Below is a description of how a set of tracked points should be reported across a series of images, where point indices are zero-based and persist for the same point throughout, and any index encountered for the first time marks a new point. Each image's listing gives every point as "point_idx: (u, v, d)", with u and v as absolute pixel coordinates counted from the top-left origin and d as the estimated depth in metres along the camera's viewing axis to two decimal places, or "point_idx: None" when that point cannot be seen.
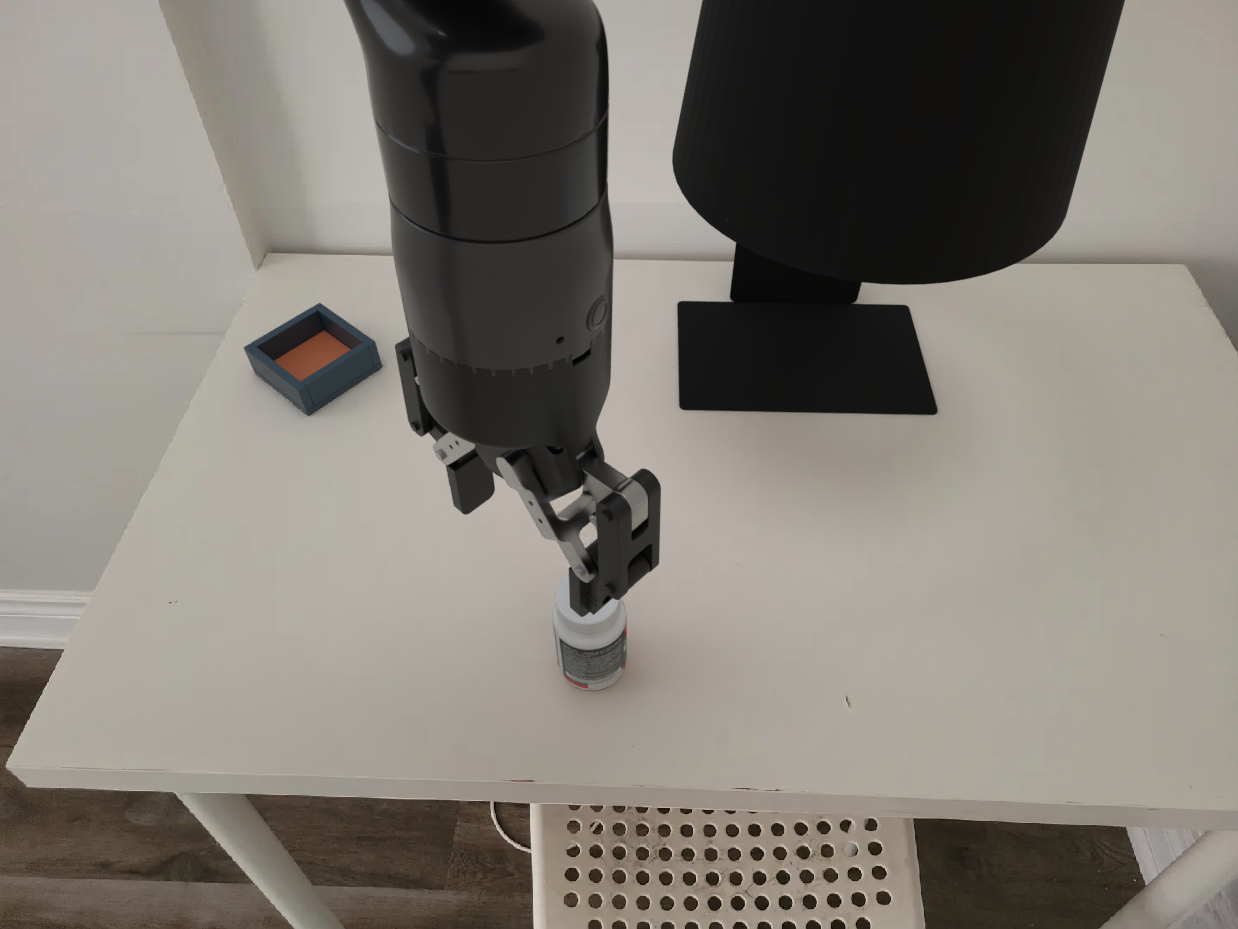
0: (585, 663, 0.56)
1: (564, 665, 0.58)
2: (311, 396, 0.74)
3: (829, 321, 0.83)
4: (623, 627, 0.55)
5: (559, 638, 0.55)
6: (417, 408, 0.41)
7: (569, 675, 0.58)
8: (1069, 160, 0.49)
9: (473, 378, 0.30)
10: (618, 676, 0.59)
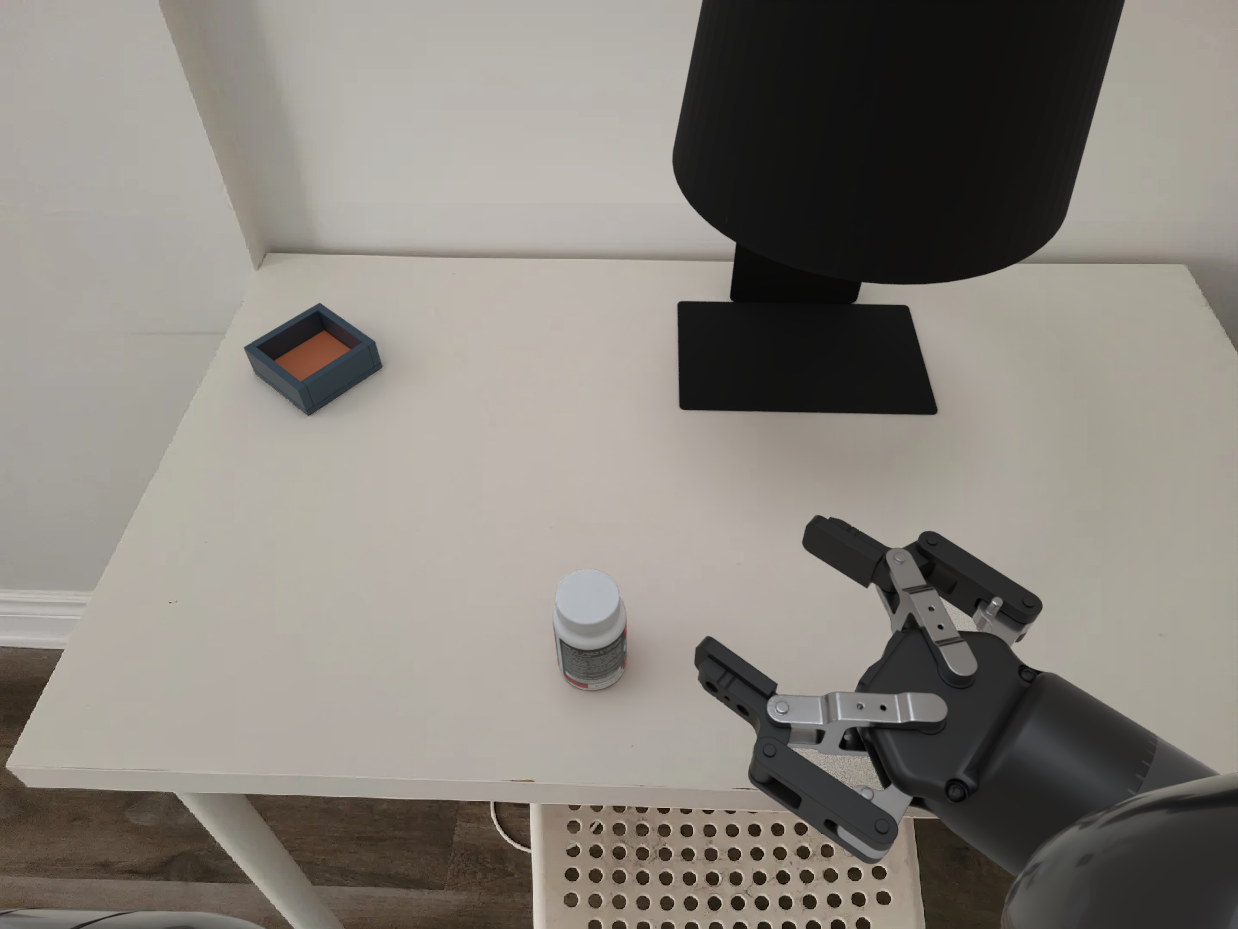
0: (585, 663, 0.56)
1: (564, 665, 0.58)
2: (311, 396, 0.74)
3: (829, 321, 0.83)
4: (623, 627, 0.55)
5: (559, 638, 0.55)
6: (957, 566, 0.39)
7: (569, 675, 0.58)
8: (1069, 160, 0.49)
9: None
10: (618, 676, 0.59)
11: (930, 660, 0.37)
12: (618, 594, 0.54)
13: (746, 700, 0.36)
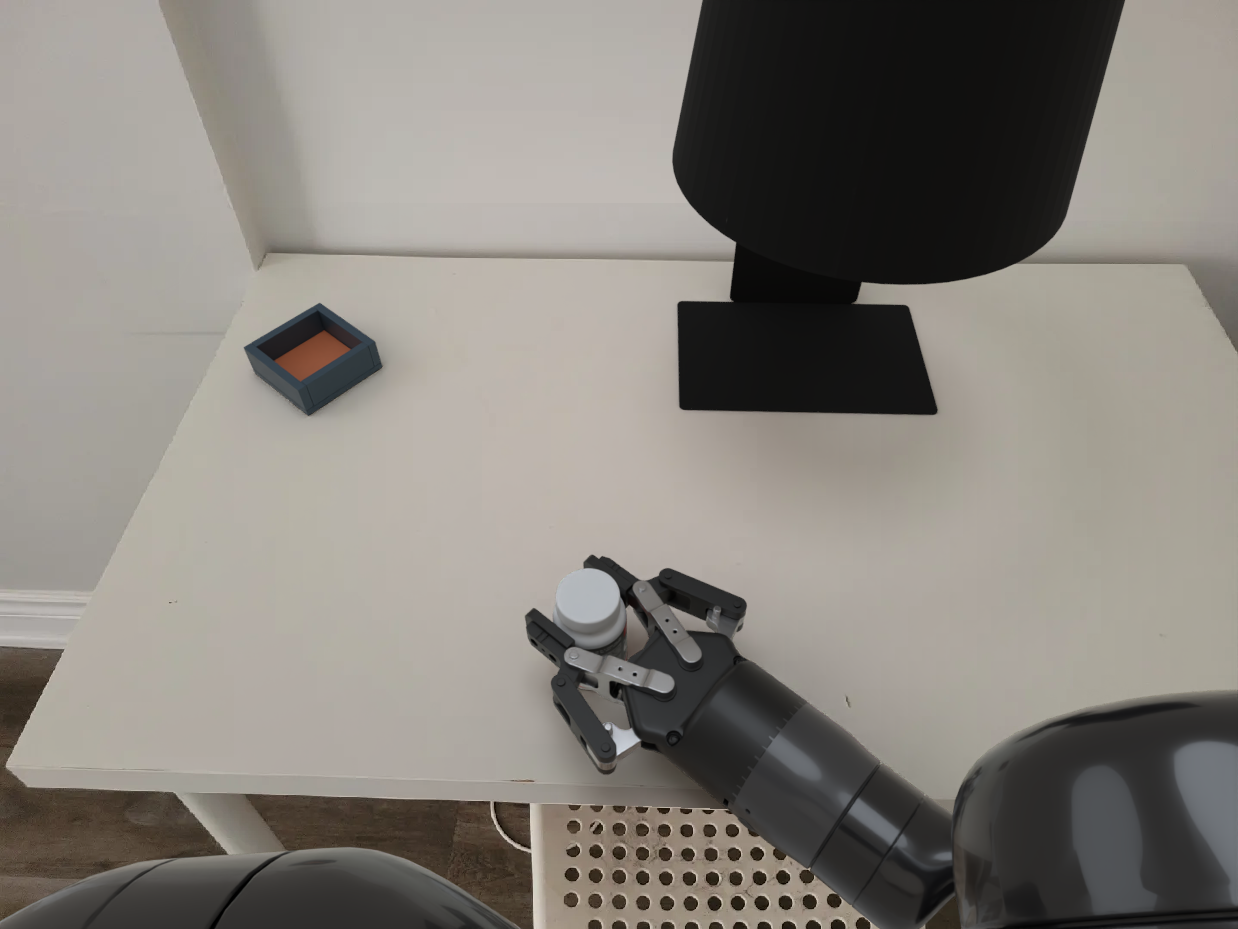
0: None
1: None
2: (311, 396, 0.74)
3: (829, 321, 0.83)
4: (623, 627, 0.55)
5: None
6: (688, 590, 0.56)
7: None
8: (1069, 160, 0.49)
9: (751, 751, 0.47)
10: None
11: (674, 651, 0.53)
12: (618, 593, 0.54)
13: (553, 650, 0.53)
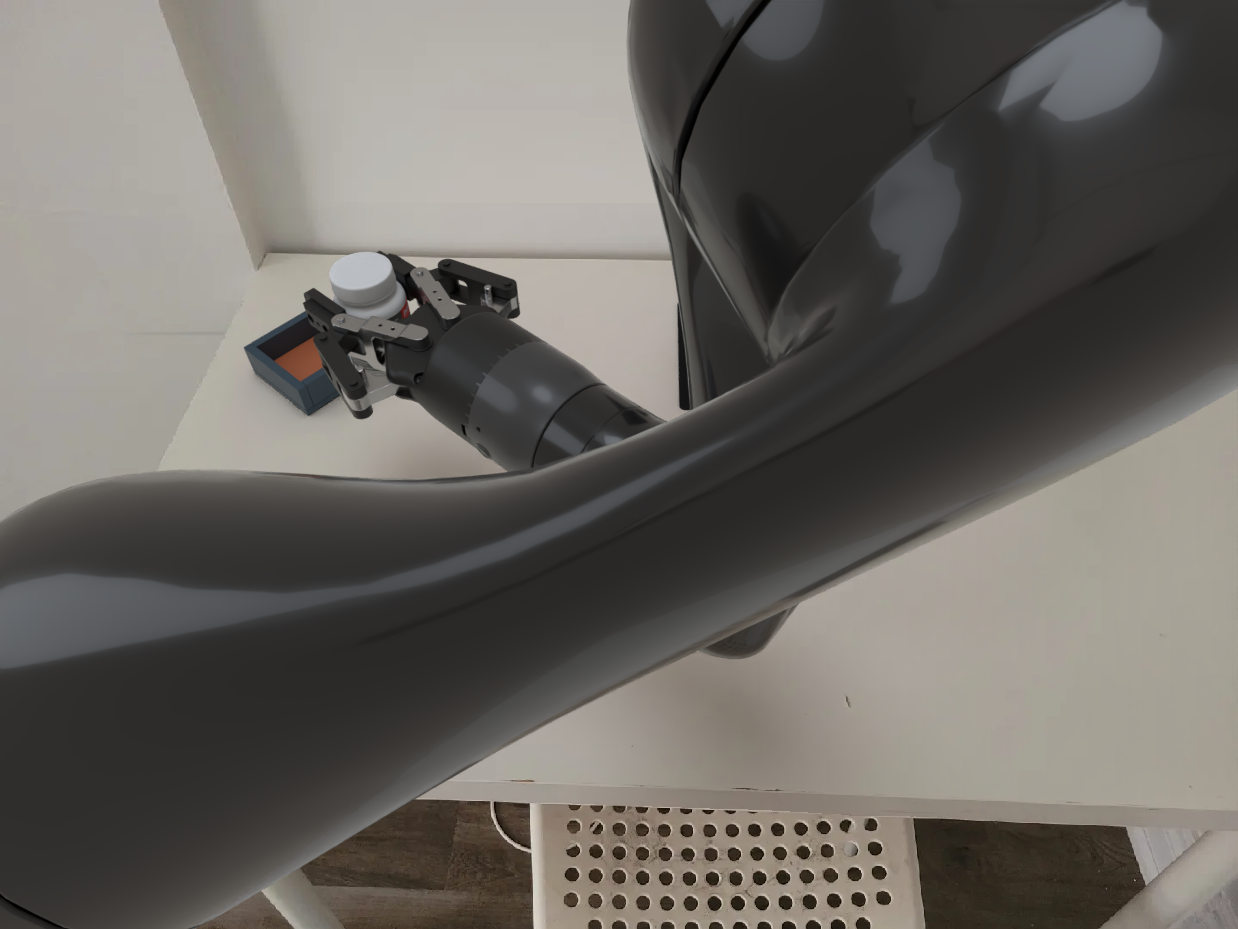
0: None
1: (351, 356, 0.60)
2: (311, 396, 0.74)
3: None
4: (399, 307, 0.57)
5: None
6: (463, 273, 0.58)
7: None
8: None
9: (480, 369, 0.49)
10: None
11: (438, 317, 0.55)
12: (390, 269, 0.56)
13: (324, 319, 0.55)
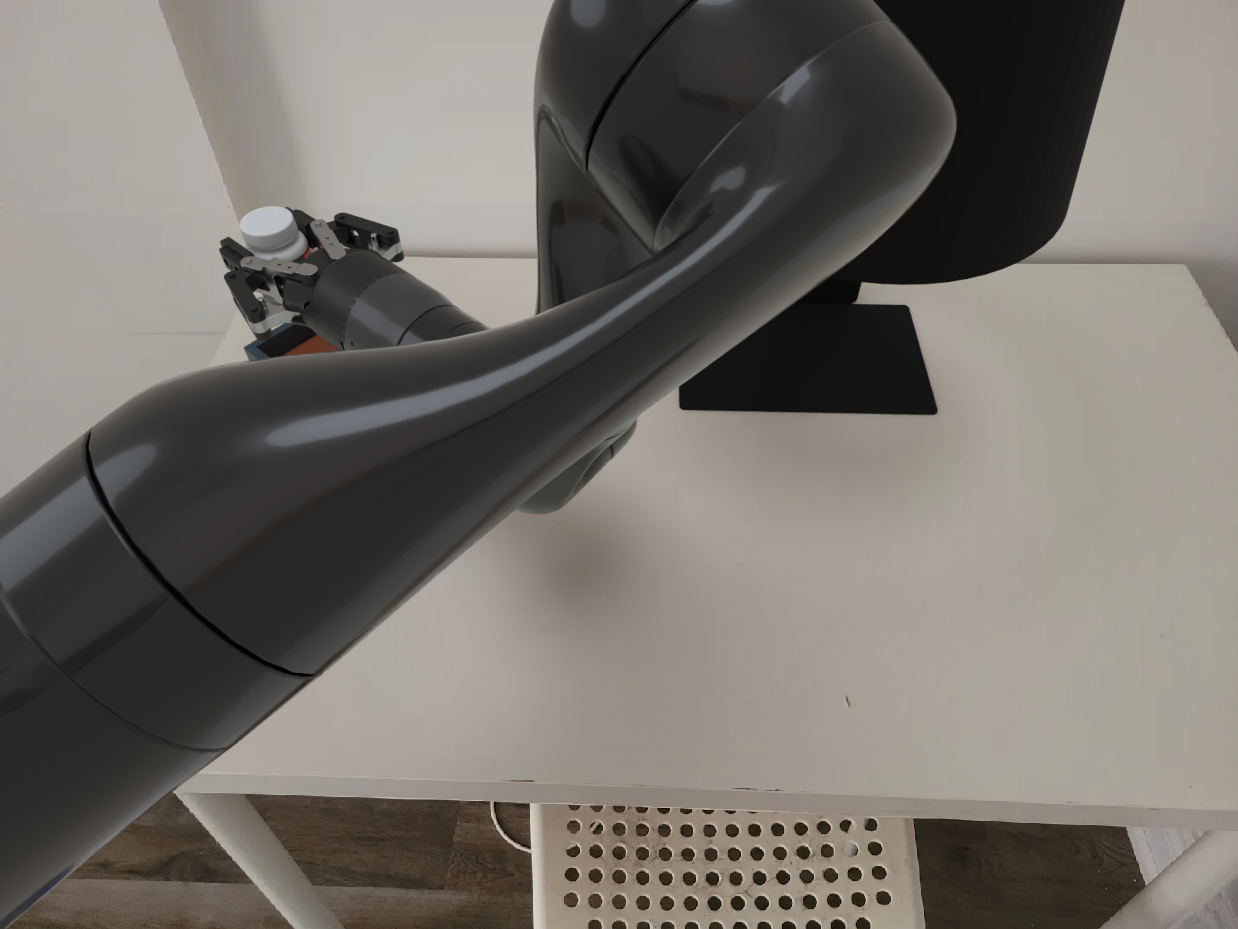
0: None
1: (263, 296, 0.71)
2: None
3: (829, 321, 0.83)
4: (300, 252, 0.68)
5: None
6: (354, 224, 0.69)
7: None
8: (1069, 160, 0.49)
9: (352, 294, 0.60)
10: None
11: (330, 258, 0.66)
12: (291, 219, 0.67)
13: (235, 261, 0.67)
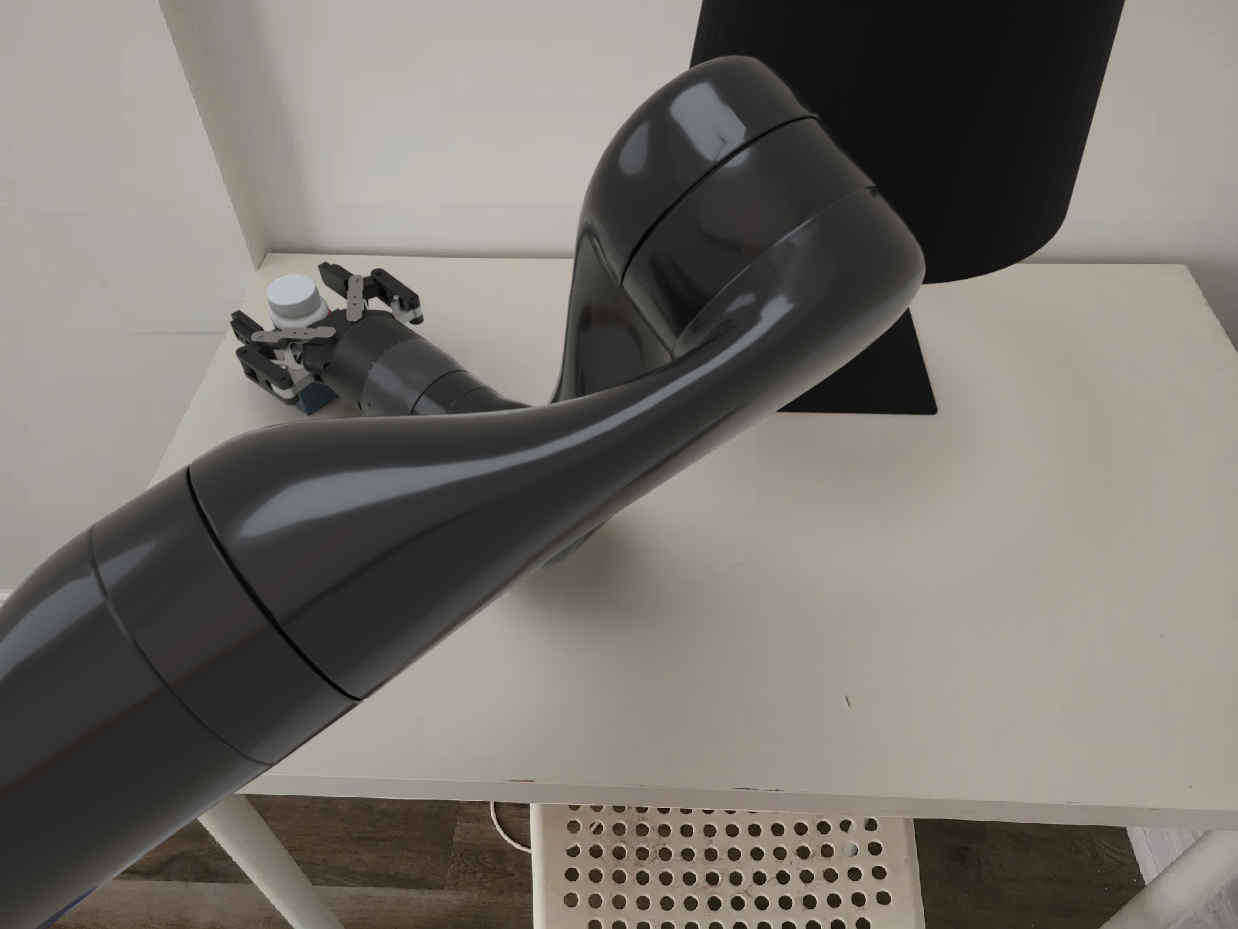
0: None
1: None
2: (311, 396, 0.74)
3: None
4: (322, 318, 0.73)
5: (274, 326, 0.73)
6: (384, 282, 0.73)
7: None
8: (1069, 160, 0.49)
9: (370, 359, 0.64)
10: None
11: (346, 319, 0.70)
12: (314, 288, 0.72)
13: (246, 335, 0.70)
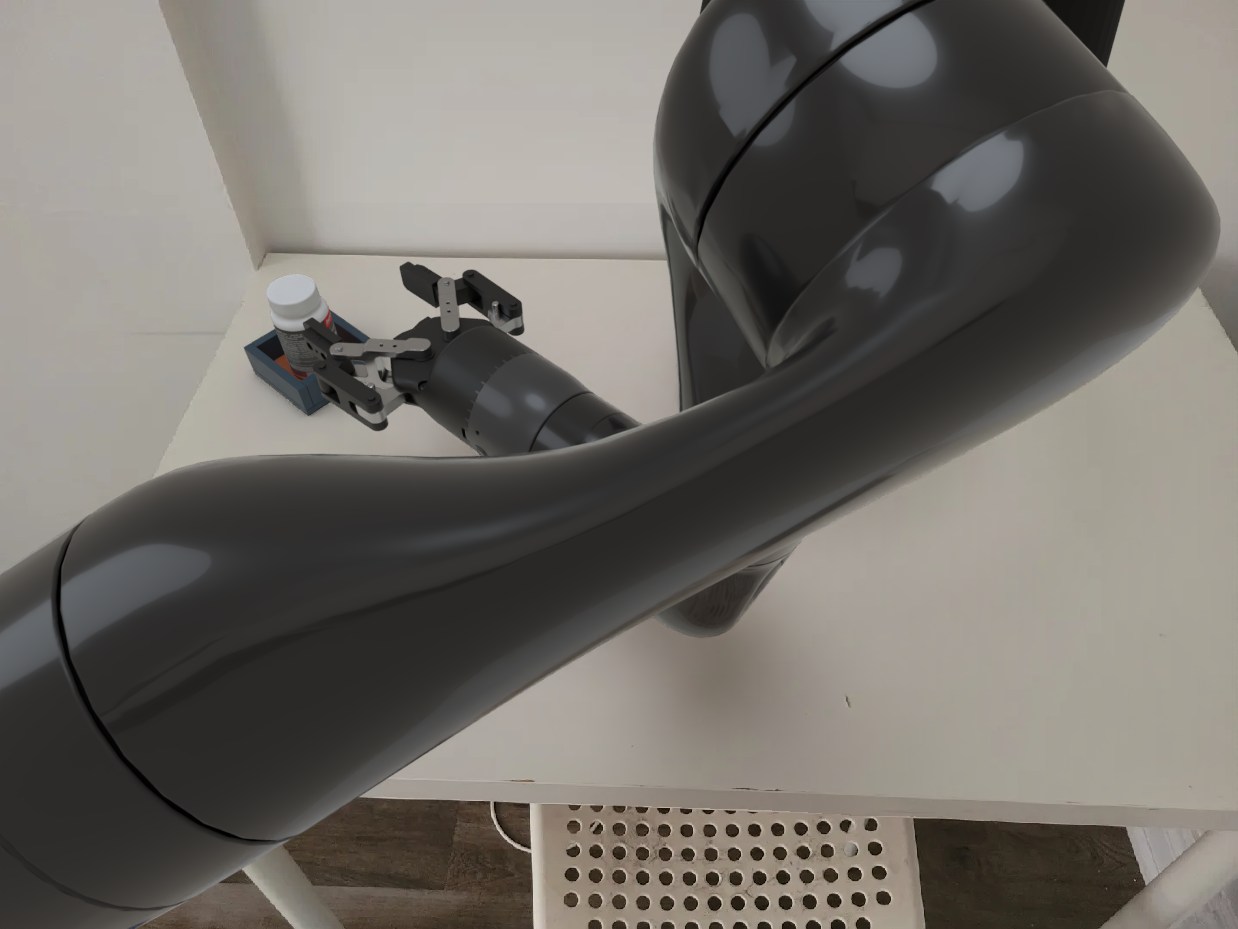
0: (296, 347, 0.74)
1: (286, 356, 0.76)
2: (311, 396, 0.74)
3: None
4: (322, 318, 0.73)
5: (274, 326, 0.73)
6: (480, 286, 0.63)
7: (292, 365, 0.76)
8: None
9: (479, 378, 0.54)
10: None
11: (439, 329, 0.60)
12: (314, 288, 0.72)
13: (322, 348, 0.59)
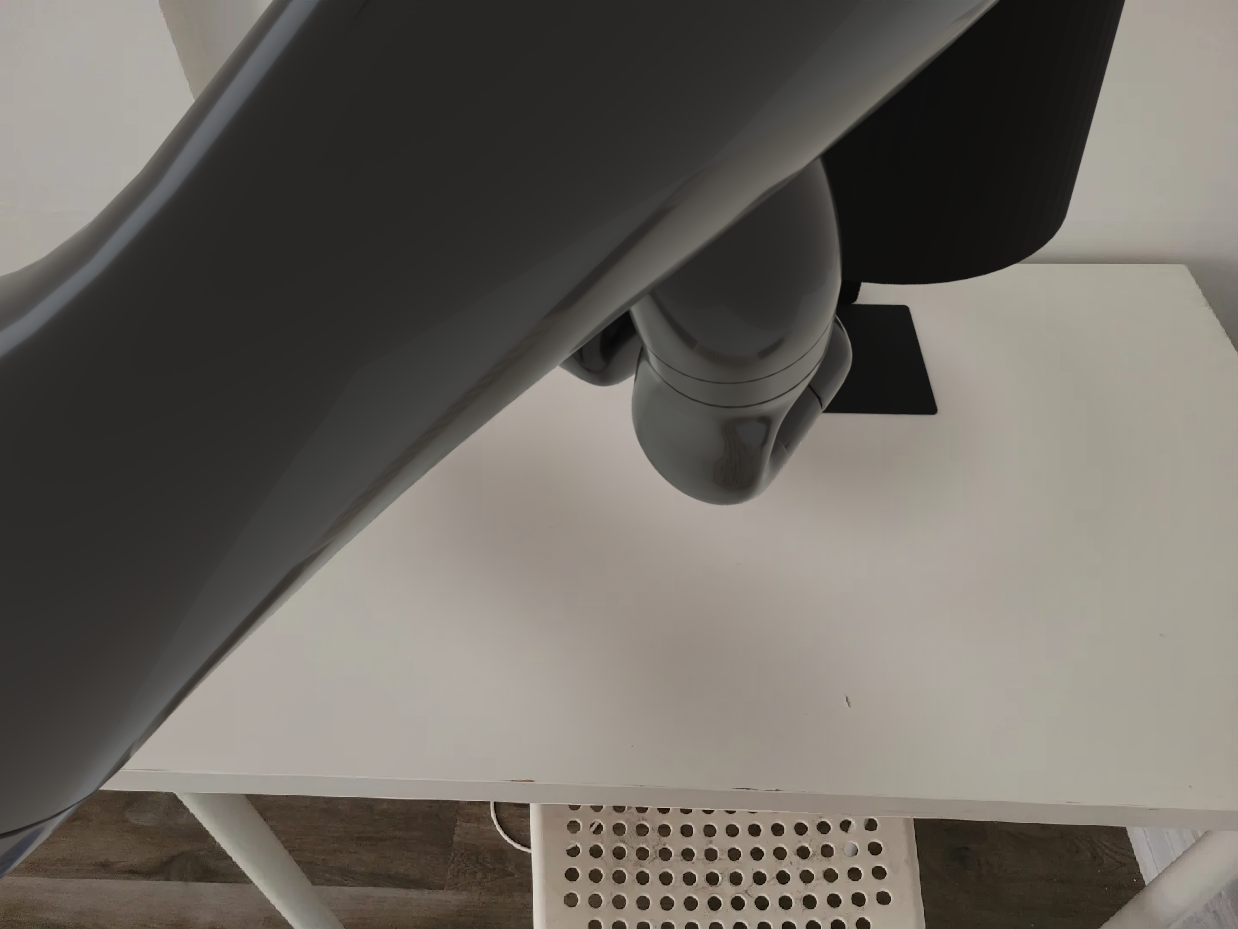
0: None
1: None
2: None
3: None
4: None
5: None
6: None
7: None
8: (1069, 160, 0.49)
9: None
10: None
11: None
12: None
13: None
